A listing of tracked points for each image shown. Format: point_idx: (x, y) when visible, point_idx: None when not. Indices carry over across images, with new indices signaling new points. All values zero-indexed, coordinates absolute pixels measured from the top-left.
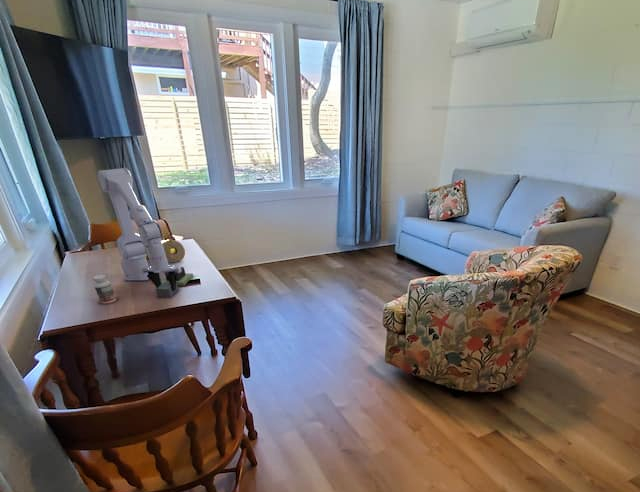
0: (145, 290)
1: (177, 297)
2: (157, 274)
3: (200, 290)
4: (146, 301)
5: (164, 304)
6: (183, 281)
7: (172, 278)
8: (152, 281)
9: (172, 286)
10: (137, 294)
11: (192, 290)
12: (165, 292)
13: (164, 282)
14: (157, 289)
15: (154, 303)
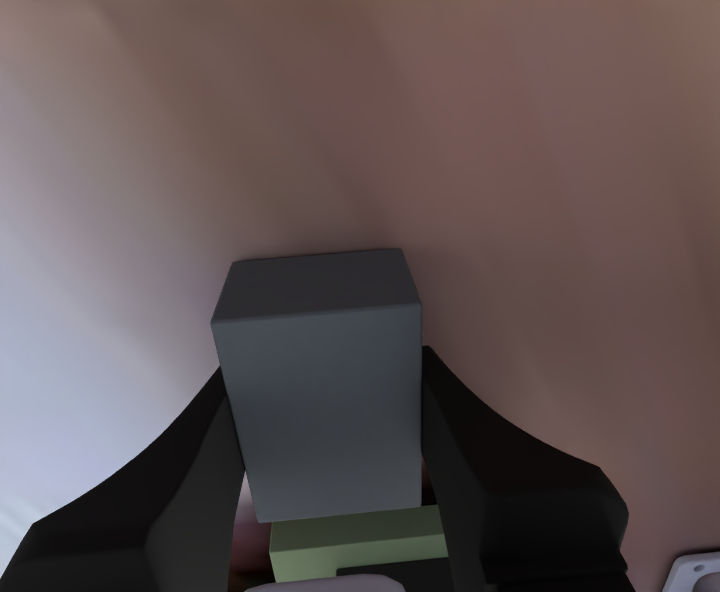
0: (627, 393)
1: (139, 264)
2: (464, 588)
3: (4, 452)
4: (501, 106)
5: (164, 12)
6: (279, 567)
7: (67, 505)
8: (504, 424)
9: (197, 400)
10: (688, 298)
11: (98, 443)
12: (276, 286)
13: (402, 492)
14: (391, 302)
15: (348, 41)
